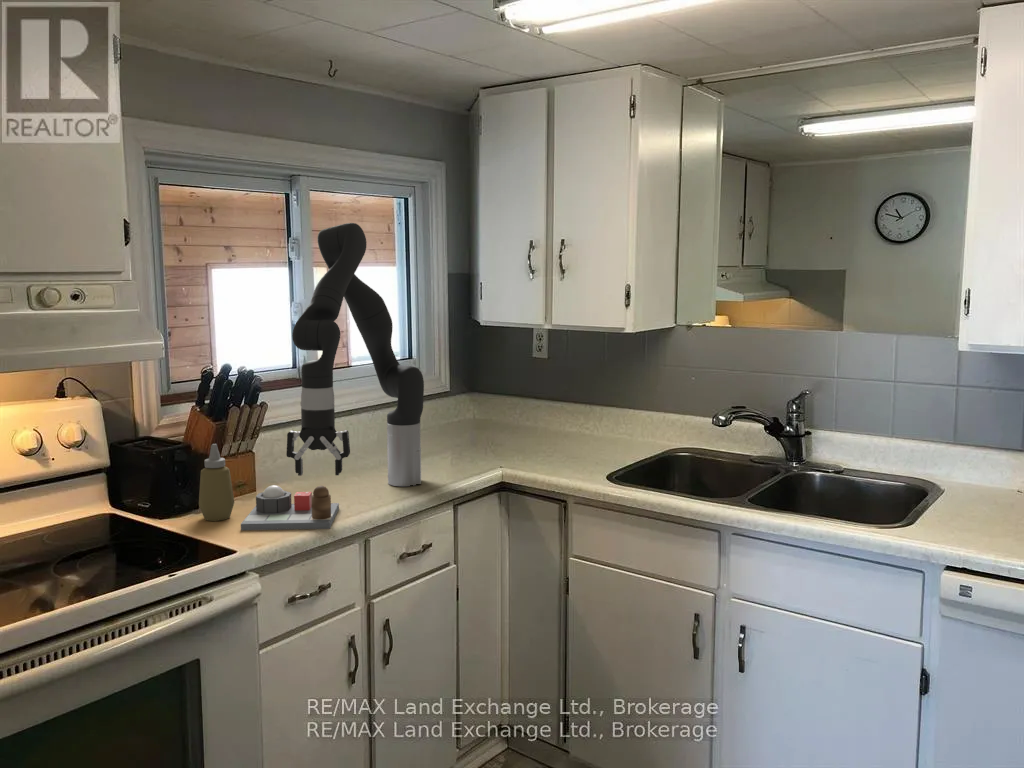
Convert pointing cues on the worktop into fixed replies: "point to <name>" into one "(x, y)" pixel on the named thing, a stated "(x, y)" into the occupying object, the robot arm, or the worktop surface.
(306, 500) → the red die
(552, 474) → the worktop surface
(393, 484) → the robot arm
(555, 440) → the worktop surface
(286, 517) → the board
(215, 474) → the squeeze bottle
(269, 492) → the dome
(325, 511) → the cylinder
